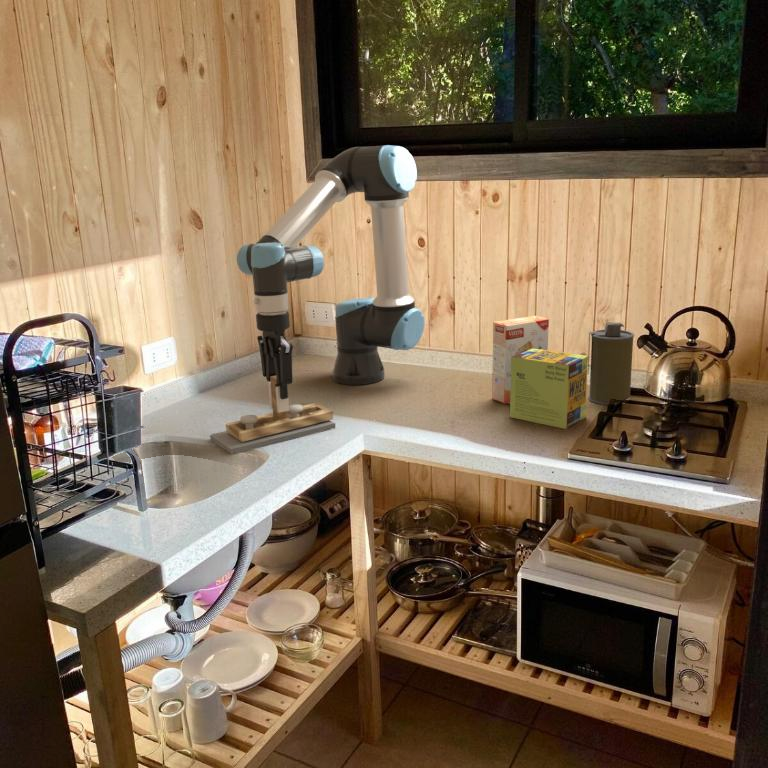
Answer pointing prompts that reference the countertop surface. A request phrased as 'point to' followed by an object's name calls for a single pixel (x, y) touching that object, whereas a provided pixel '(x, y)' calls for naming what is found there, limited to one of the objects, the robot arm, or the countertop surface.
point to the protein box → (548, 387)
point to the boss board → (238, 446)
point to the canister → (610, 364)
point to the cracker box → (514, 349)
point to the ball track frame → (279, 420)
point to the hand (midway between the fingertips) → (279, 409)
